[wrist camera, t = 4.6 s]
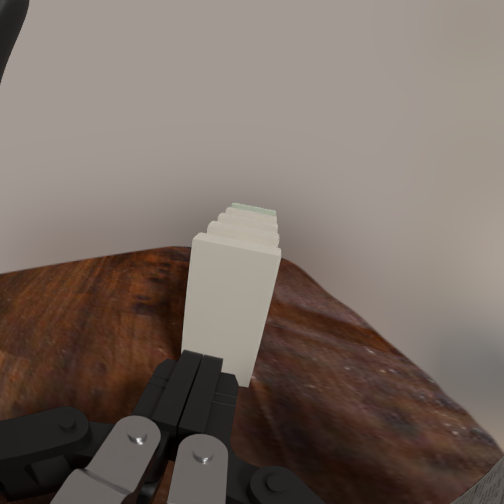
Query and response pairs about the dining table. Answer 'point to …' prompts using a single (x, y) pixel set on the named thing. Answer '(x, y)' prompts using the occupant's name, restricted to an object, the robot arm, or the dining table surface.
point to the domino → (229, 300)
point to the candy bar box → (486, 488)
